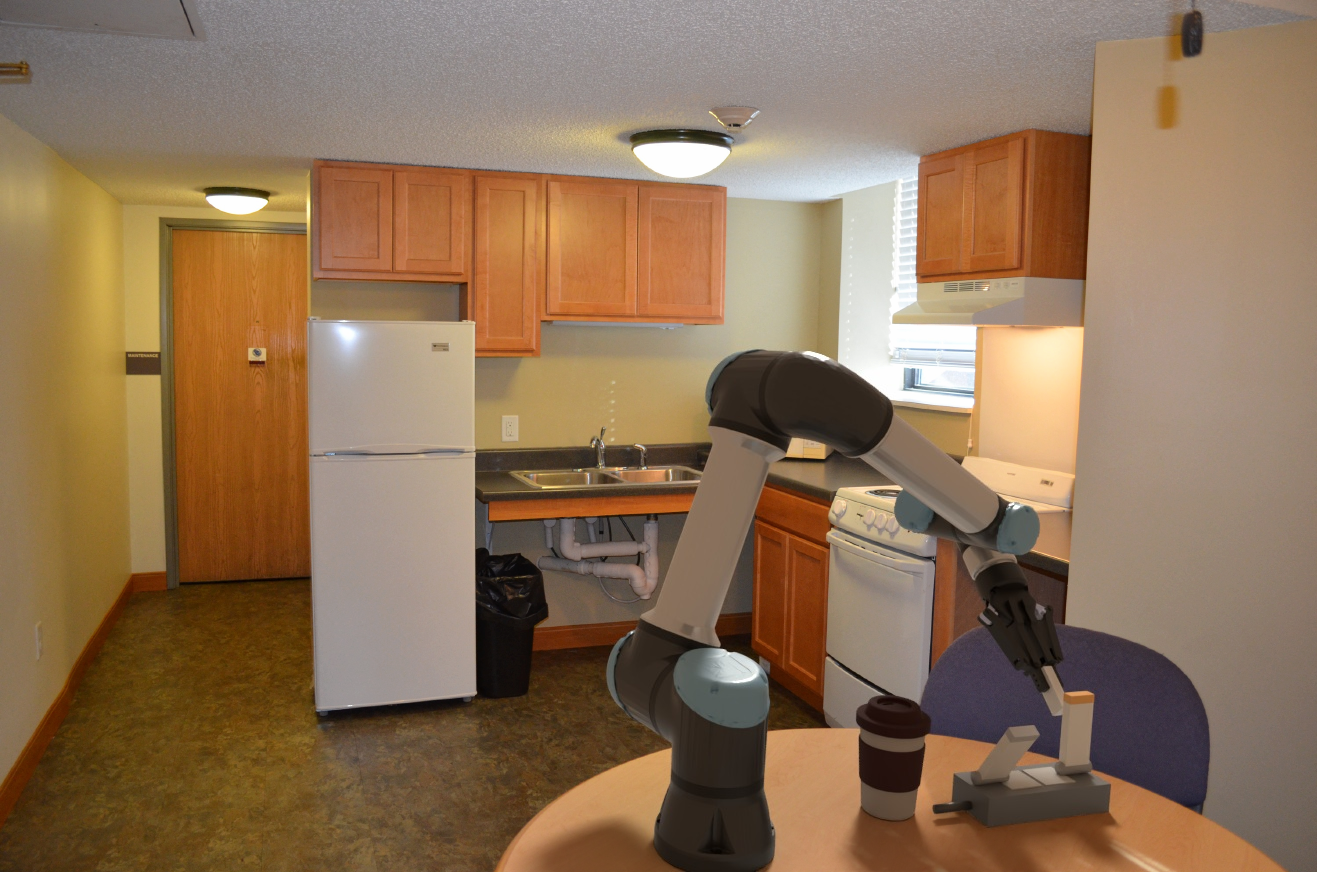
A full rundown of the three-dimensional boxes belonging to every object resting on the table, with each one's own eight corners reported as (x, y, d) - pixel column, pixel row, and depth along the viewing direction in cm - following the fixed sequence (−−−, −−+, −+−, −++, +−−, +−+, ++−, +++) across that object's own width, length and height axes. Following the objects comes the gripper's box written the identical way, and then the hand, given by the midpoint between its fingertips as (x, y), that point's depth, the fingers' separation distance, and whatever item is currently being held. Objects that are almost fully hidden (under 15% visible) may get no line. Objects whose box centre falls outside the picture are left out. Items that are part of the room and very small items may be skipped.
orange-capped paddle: (1062, 777, 136) (1069, 696, 135) (1054, 771, 138) (1060, 692, 137) (1091, 774, 137) (1098, 694, 137) (1082, 768, 139) (1089, 690, 138)
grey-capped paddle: (974, 787, 132) (1011, 738, 125) (968, 775, 134) (1004, 726, 127) (1005, 783, 134) (1043, 735, 127) (999, 772, 135) (1036, 723, 128)
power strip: (951, 831, 127) (954, 801, 127) (917, 804, 135) (919, 775, 134) (1108, 811, 135) (1111, 782, 135) (1068, 786, 143) (1070, 759, 142)
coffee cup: (927, 831, 127) (934, 720, 126) (850, 821, 129) (857, 711, 128) (922, 798, 137) (929, 694, 136) (850, 789, 139) (857, 687, 138)
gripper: (972, 560, 150) (1038, 703, 135) (1042, 558, 154) (1113, 696, 139) (949, 586, 155) (1011, 726, 141) (1017, 583, 159) (1083, 719, 145)
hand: (1061, 711), depth 140 cm, fingers closed
